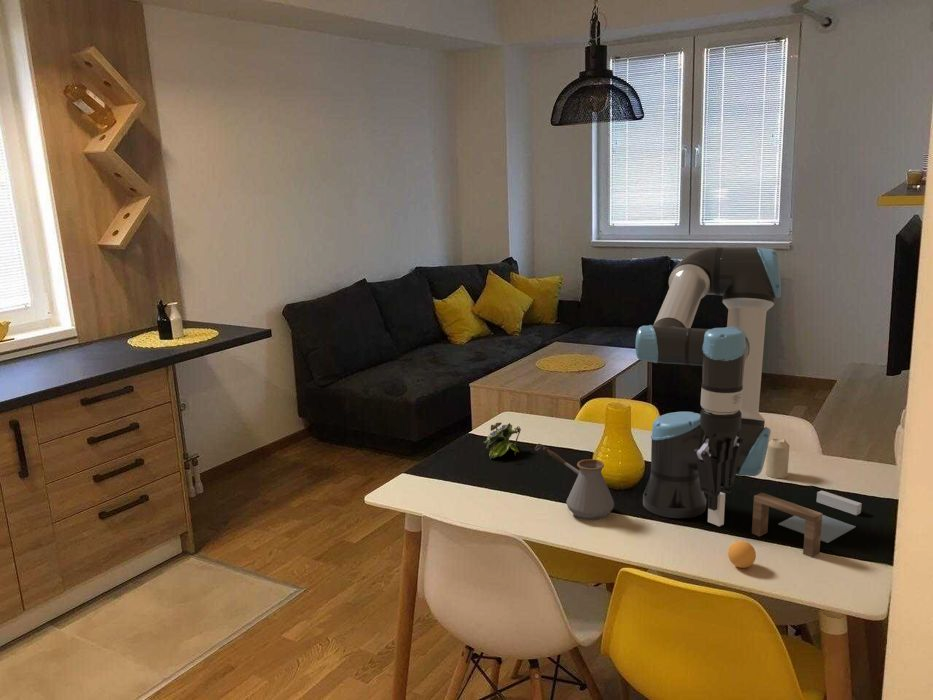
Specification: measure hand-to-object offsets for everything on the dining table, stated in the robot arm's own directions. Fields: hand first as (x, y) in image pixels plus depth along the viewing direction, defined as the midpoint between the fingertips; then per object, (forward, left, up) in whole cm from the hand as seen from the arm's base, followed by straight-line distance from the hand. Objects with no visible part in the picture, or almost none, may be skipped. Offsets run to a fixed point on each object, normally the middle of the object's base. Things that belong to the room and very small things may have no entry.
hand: (715, 522), depth 157 cm
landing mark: (0, +39, -13) cm, 41 cm away
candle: (-23, +59, -13) cm, 64 cm away
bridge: (0, +26, -13) cm, 29 cm away
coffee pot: (-43, +3, -13) cm, 45 cm away
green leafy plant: (-83, +14, -13) cm, 85 cm away
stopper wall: (-2, +52, -13) cm, 53 cm away
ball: (0, +10, -10) cm, 14 cm away
